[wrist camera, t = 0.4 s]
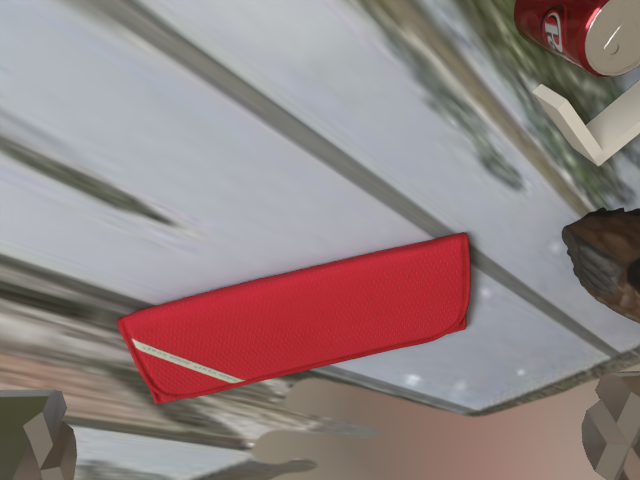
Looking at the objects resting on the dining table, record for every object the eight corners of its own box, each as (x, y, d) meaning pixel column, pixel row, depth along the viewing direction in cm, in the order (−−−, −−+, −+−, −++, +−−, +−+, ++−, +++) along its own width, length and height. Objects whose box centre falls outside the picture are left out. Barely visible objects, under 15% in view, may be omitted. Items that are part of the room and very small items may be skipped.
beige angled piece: (531, 92, 59) (557, 108, 55) (626, 8, 56) (660, 20, 52) (572, 147, 63) (598, 166, 59) (661, 72, 60) (695, 88, 56)
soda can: (551, -56, 51) (636, -38, 41) (597, -7, 54) (686, 20, 45) (495, 14, 54) (563, 47, 44) (543, 57, 57) (616, 96, 47)
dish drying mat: (461, 323, 76) (473, 342, 73) (158, 394, 73) (156, 417, 70) (462, 226, 67) (475, 243, 64) (117, 302, 64) (113, 324, 61)
